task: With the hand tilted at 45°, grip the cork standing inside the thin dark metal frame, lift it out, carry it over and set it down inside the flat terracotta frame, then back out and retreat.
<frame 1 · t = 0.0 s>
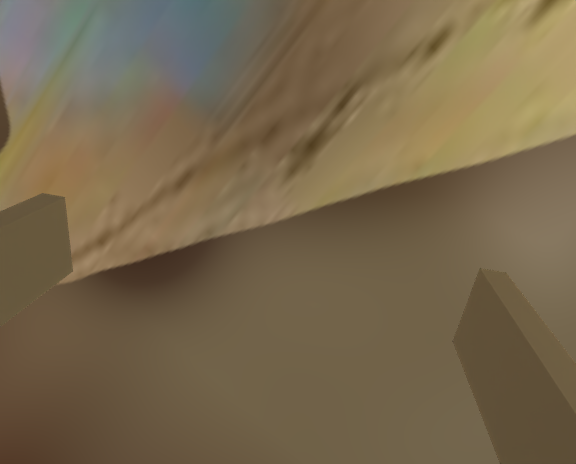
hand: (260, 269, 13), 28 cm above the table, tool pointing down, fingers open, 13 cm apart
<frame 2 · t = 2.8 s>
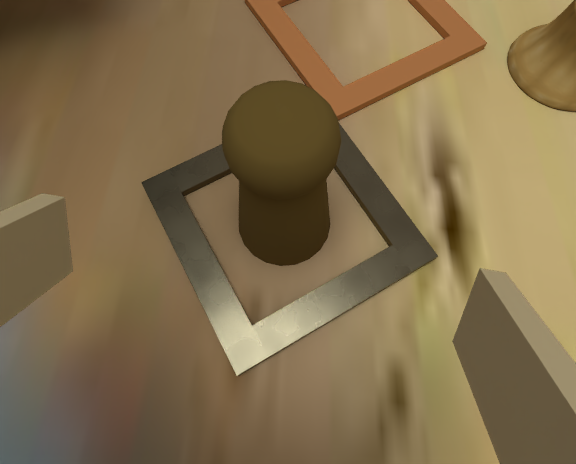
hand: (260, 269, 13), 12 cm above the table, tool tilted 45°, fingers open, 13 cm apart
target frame: (360, 25, 32), on the table
cork: (284, 222, 26), resting in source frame
hand bell: (559, 70, 31), on the table
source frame: (284, 221, 26), on the table
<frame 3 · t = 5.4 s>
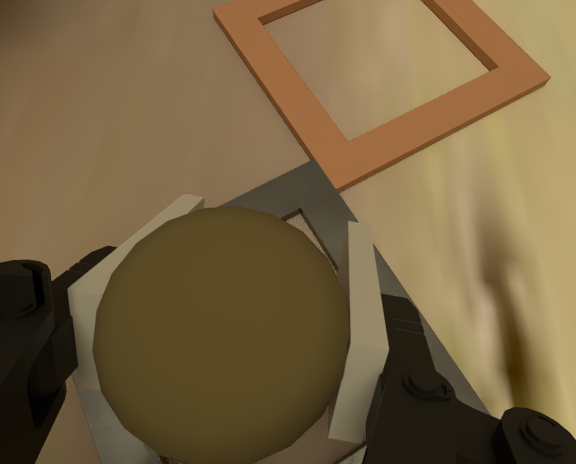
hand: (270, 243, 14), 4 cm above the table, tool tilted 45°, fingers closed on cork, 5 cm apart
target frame: (372, 49, 23), on the table
cork: (258, 357, 17), resting in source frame, touching gripper
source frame: (258, 357, 17), on the table
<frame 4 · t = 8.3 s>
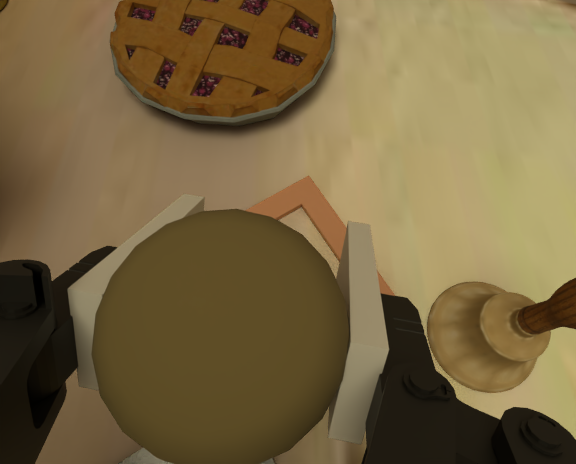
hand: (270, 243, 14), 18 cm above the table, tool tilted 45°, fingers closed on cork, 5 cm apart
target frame: (282, 283, 32), on the table
pie: (229, 54, 41), on the table
cork: (258, 358, 17), point 13 cm above the table, touching gripper
hand bell: (479, 335, 31), on the table
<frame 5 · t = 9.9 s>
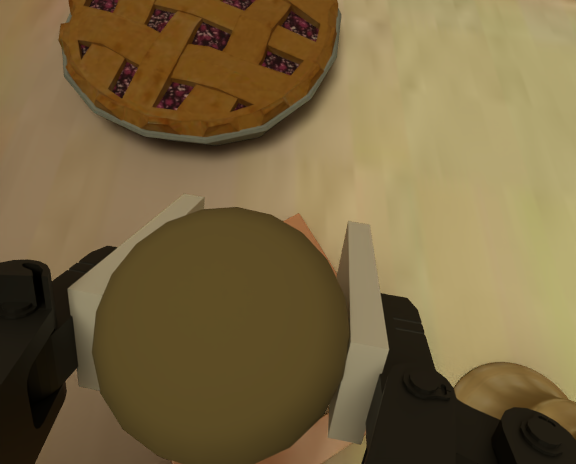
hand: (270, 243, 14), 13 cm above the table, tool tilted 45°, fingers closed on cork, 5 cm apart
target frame: (258, 355, 25), on the table
pie: (210, 56, 34), on the table
cork: (258, 357, 17), point 8 cm above the table, touching gripper
hand bell: (511, 435, 24), on the table
when the fingers open (6 cm above the table, at t = 11.4 s): cork drops 1 cm, resting in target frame.
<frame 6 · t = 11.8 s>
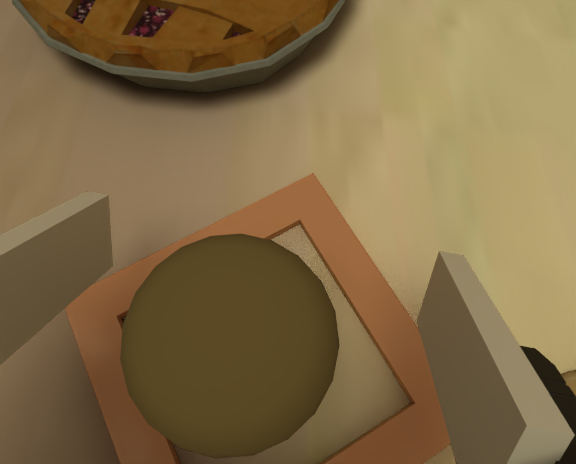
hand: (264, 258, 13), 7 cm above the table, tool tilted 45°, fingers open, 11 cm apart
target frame: (260, 358, 18), on the table
cork: (259, 360, 19), resting in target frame
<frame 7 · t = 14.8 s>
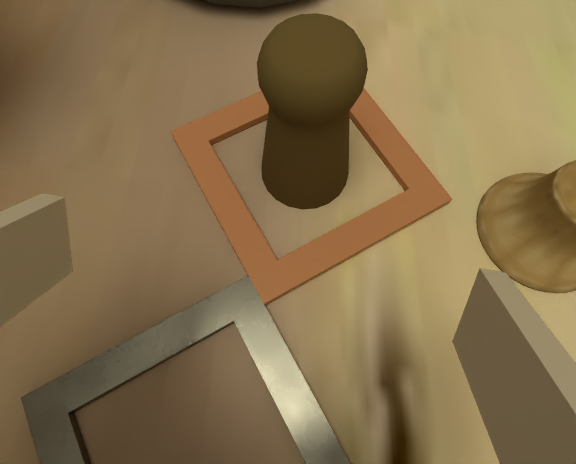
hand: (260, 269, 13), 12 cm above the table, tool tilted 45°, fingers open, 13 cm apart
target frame: (305, 168, 27), on the table
cork: (304, 171, 28), resting in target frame
hand bell: (538, 231, 26), on the table
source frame: (193, 451, 21), on the table
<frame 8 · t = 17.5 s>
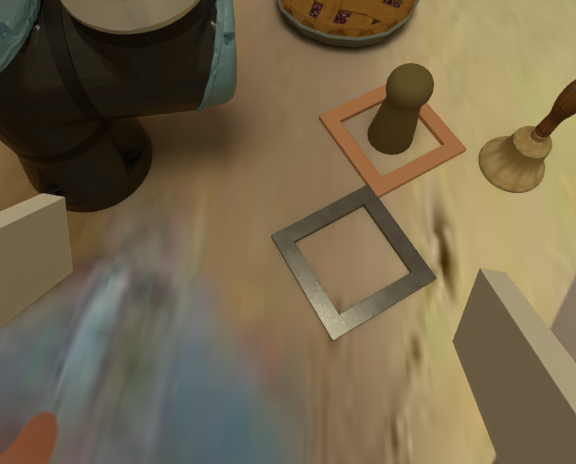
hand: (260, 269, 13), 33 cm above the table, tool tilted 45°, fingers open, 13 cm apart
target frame: (390, 134, 53), on the table
pie: (344, 4, 63), on the table
cork: (389, 136, 53), resting in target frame
hand bell: (509, 165, 52), on the table
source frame: (351, 258, 47), on the table
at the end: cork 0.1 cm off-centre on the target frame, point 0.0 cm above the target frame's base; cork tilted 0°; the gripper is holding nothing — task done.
